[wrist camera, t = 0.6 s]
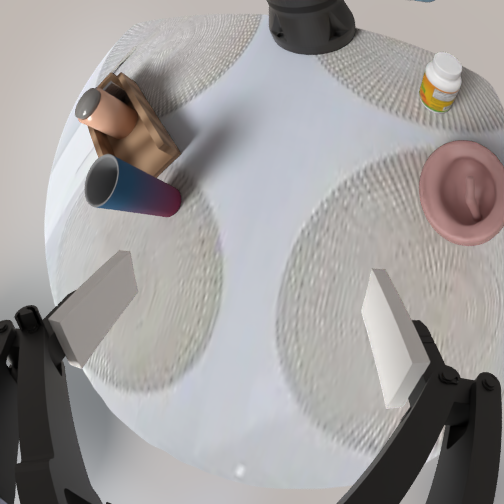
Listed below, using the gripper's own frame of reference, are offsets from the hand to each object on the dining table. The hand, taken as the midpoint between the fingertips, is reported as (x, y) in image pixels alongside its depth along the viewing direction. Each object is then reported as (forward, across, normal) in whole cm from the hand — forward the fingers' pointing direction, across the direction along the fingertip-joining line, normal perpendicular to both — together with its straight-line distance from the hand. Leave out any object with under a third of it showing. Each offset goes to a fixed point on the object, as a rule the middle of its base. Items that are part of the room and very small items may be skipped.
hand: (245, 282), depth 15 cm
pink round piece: (+21, +24, +1) cm, 32 cm away
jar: (+39, -30, +9) cm, 50 cm away
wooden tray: (+38, -28, +7) cm, 48 cm away
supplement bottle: (+28, +24, +15) cm, 40 cm away
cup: (+30, -17, -5) cm, 34 cm away
